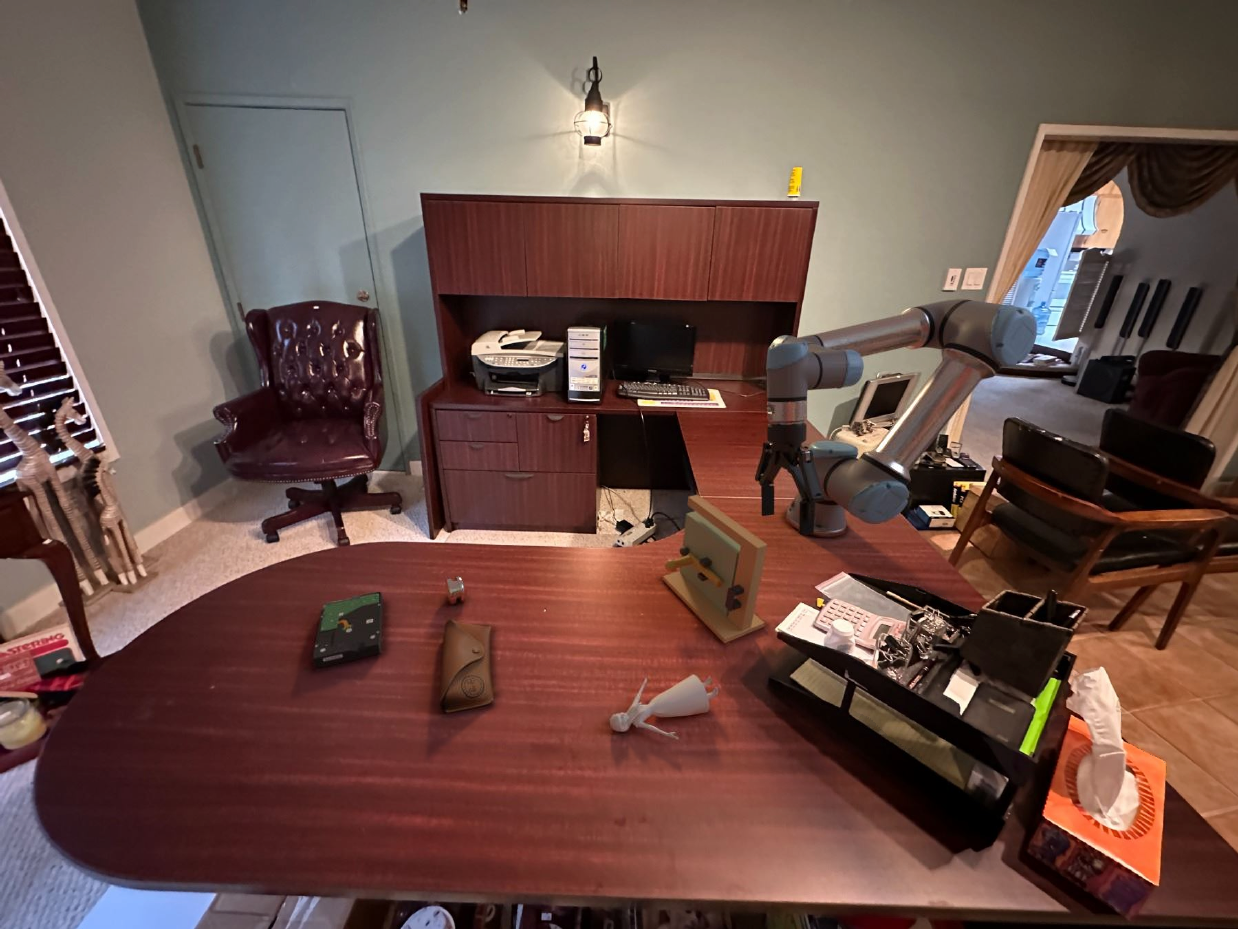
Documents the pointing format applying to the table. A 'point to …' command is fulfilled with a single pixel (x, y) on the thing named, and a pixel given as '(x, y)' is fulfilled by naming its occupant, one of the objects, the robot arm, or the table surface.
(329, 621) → the disk drive
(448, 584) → the grooved metal pulley
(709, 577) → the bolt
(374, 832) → the table surface
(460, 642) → the sunglasses case
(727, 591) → the door
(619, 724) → the woman figurine
